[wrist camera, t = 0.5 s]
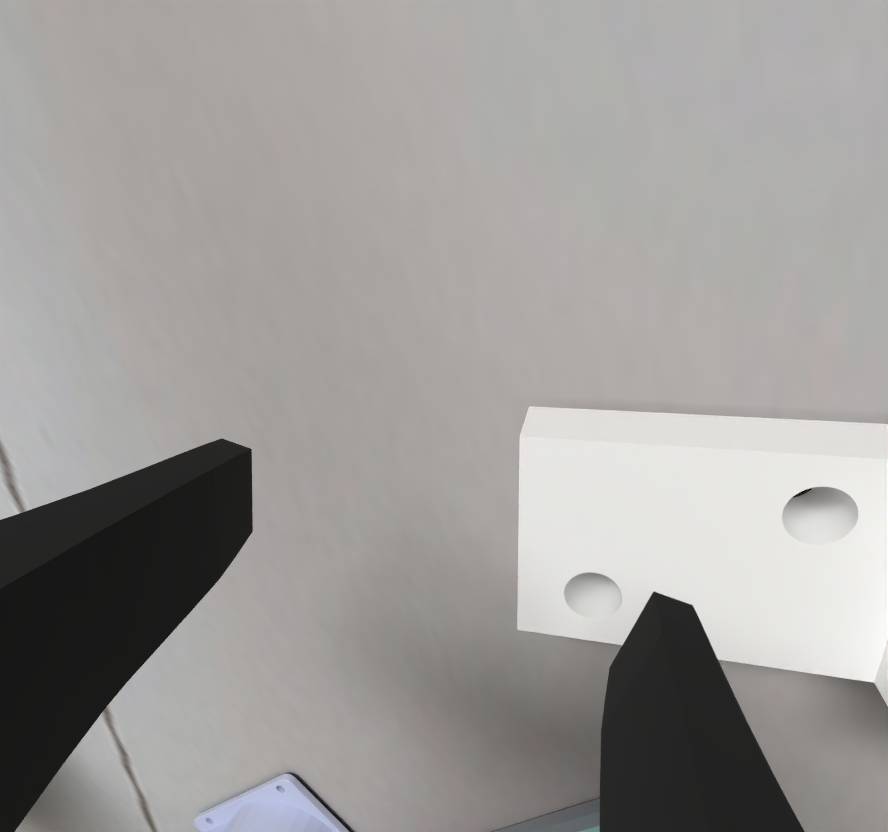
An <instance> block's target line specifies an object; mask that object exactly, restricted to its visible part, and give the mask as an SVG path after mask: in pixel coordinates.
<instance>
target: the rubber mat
mask: <svg viewBox="0 0 888 832" xmlns="http://www.w3.org/2000/svg"><path fill="white" fill-rule="evenodd" d="M597 826H600V798H598V799H595V800H592V801H589V802H585V803H582V804H579V805H576V806H573V807H569V808H566V809H563V810H560V811H557V812H554V813H550V814H547V815H544V816H541V817H538V818H534V819H531V820H528V821H525V822H522V823H519V824H515V825H512V826H509V827H506V828H503V829H500V830H496V831H493V832H579V831H583V830H586V829H590V828H593V827H597Z"/></svg>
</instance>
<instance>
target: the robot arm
mask: <svg viewBox="0 0 888 832" xmlns="http://www.w3.org/2000/svg"><path fill="white" fill-rule="evenodd" d="M252 531H253V526H252V453H251V449H250V448H247V447H244V446H241V445H239V444H236V443H233V442H230V441H227V440H224V439H219V440H216V441H214V442H211V443H208V444H205V445H202V446H200V447H197V448H194V449H192V450H189V451H187V452H184V453H181V454H179V455H176V456H174V457H171V458H169V459H166V460H164V461H161V462H159V463H156V464H154V465H151V466H149V467H146V468H144V469H141V470H138V471H136V472H133V473H131V474H128V475H125V476H123V477H120V478H118V479H115V480H112V481H110V482H107V483H105V484H102V485H99V486H97V487H94V488H92V489H89V490H86V491H83V492H80V493H78V494H75V495H72V496H69V497H66V498H63V499H60V500H57V501H55V502H52V503H49V504H46V505H43V506H40V507H37V508H34V509H32V510H29V511H26V512H23V513H20V514H17V515H14V516H11V517H8V518H5V519H2V520H0V832H15V830H16V829H17V827H18V826H19V824H20V823H21V822H22V820H23V819H24V817H25V816H26V815H27V813H28V812H29V811H30V809H31V808H32V806H33V805H34V804H35V802H36V801H37V799H38V798H39V797H40V795H41V794H42V792H43V791H44V790H45V788H46V787H47V786H48V784H49V783H50V781H51V780H52V779H53V777H54V776H55V774H56V773H57V772H58V770H59V769H60V767H61V766H62V765H63V763H64V762H65V761H66V759H67V758H68V757H69V755H70V754H71V753H72V751H73V750H74V749H75V747H76V746H77V745H78V743H79V742H80V741H81V739H82V738H83V737H84V736H85V734H86V733H87V732H88V730H89V729H90V728H91V726H92V725H93V724H94V722H95V721H96V720H97V718H98V717H99V716H100V714H101V713H102V712H103V710H104V709H105V708H106V706H107V705H108V704H109V703H110V702H111V701H112V699H113V698H114V697H115V696H116V695H117V693H118V692H119V691H120V690H121V689H122V687H123V686H124V685H125V684H126V683H127V681H128V680H129V679H130V678H131V677H132V676H133V675H134V674H135V673H136V672H137V670H138V669H139V668H140V667H141V666H142V665H143V664H144V663H145V662H146V660H147V659H148V658H149V657H150V656H151V655H152V654H153V653H154V652H155V650H156V649H157V648H158V647H159V646H160V645H161V644H162V643H163V642H164V641H165V639H166V638H167V637H168V636H169V635H170V634H171V633H172V632H173V631H174V629H175V628H176V627H177V626H178V625H179V624H180V623H181V622H182V621H183V619H184V618H185V617H186V616H187V615H188V614H189V613H190V612H191V611H192V609H193V608H194V607H195V606H196V605H197V604H198V603H199V602H200V600H201V599H202V598H203V597H204V596H205V595H206V594H207V593H208V591H209V590H210V589H211V588H212V587H213V586H214V585H215V583H216V582H217V581H218V580H219V579H220V578H221V576H222V575H223V573H224V572H225V571H226V569H227V568H228V566H229V565H230V564H231V562H232V561H233V560H234V558H235V557H236V555H237V554H238V552H239V551H240V549H241V548H242V546H243V545H244V543H245V542H246V540H247V539H248V537H249V536H250V534H251V533H252ZM194 825H195V826H196V827H197V828H198V829H199V830H200V831H201V832H349V831H348V830H347V829H346V828H345V827H344V826H343V825H342V824H341V823H340V822H339V821H338V820H337V819H336V818H335V817H334V816H333V815H332V814H331V813H330V812H329V811H328V810H327V809H326V808H325V807H324V806H323V805H322V804H321V803H320V802H319V801H318V800H317V799H316V798H315V797H314V796H313V795H312V794H311V793H310V792H309V791H308V790H307V789H306V788H305V787H304V786H303V785H302V784H301V783H300V782H299V781H298V780H297V779H296V778H295V777H294V776H293V775H291V774H283V775H281V776H278V777H276V778H274V779H272V780H270V781H268V782H266V783H263V784H261V785H259V786H257V787H255V788H253V789H251V790H249V791H246V792H244V793H242V794H240V795H238V796H236V797H234V798H231V799H229V800H227V801H225V802H223V803H221V804H219V805H217V806H214V807H212V808H210V809H208V810H206V811H204V812H202V813H199V814H198V815H197V816H196V818H195V819H194ZM600 832H804V830H803V828H802V826H801V825H800V823H799V821H798V819H797V817H796V815H795V814H794V812H793V810H792V808H791V806H790V805H789V803H788V801H787V799H786V797H785V795H784V793H783V791H782V789H781V788H780V786H779V784H778V782H777V780H776V778H775V776H774V774H773V772H772V770H771V768H770V766H769V764H768V762H767V760H766V758H765V756H764V754H763V752H762V750H761V748H760V746H759V744H758V742H757V740H756V739H755V737H754V735H753V733H752V731H751V729H750V727H749V725H748V723H747V721H746V719H745V716H744V714H743V712H742V710H741V708H740V706H739V704H738V702H737V700H736V698H735V696H734V693H733V691H732V689H731V687H730V685H729V683H728V680H727V678H726V676H725V674H724V672H723V670H722V668H721V665H720V663H719V661H718V659H717V657H716V654H715V652H714V650H713V648H712V646H711V643H710V641H709V639H708V637H707V635H706V632H705V630H704V628H703V626H702V623H701V621H700V619H699V617H698V615H697V613H696V611H695V609H694V607H693V605H691V604H688V603H685V602H682V601H680V600H677V599H674V598H671V597H668V596H665V595H663V594H660V593H657V592H654V591H653V593H652V595H651V597H650V598H649V600H648V602H647V604H646V605H645V607H644V609H643V611H642V612H641V614H640V616H639V617H638V619H637V621H636V623H635V624H634V626H633V628H632V630H631V631H630V633H629V635H628V637H627V638H626V640H625V642H624V644H623V645H622V647H621V649H620V651H619V652H618V654H617V656H616V658H615V659H614V661H613V663H612V664H611V666H610V669H609V676H608V683H607V691H606V698H605V705H604V713H603V722H602V730H601V769H600Z"/></svg>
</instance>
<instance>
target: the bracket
mask: <svg viewBox="0 0 888 832" xmlns="http://www.w3.org/2000/svg"><path fill="white" fill-rule="evenodd" d="M809 488H813V489H811V490H810V491H809V492H807V493H805V494H803V495H801V496H798V497H794V498H792V497H793V496H795V495H796V494H798V493H799V492H801V491H804V490H806V489H809ZM653 591H654V592H657V593H660V594H663V595H665V596H668V597H671V598H674V599H677V600H680V601H682V602H685V603H688V604H691V605H693V607H694V609H695V611H696V613H697V615H698V617H699V619H700V621H701V623H702V626H703V628H704V630H705V632H706V635H707V637H708V639H709V641H710V643H711V646H712V648H713V650H714V652H715V654H716V657H717V659H718V660H725V661H732V662H739V663H745V664H752V665H759V666H766V667H772V668H779V669H786V670H793V671H799V672H806V673H813V674H820V675H826V676H833V677H840V678H846V679H853V680H860V681H867V682H873V683H875V685H876V687H877V689H878V690H879V692H880V694H881V695H882V697H883V699H884V701H885V702H886V704H887V706H888V424H875V423H855V422H834V421H814V420H794V419H773V418H753V417H733V416H713V415H692V414H672V413H652V412H631V411H611V410H591V409H570V408H550V407H530V406H529V409H528V412H527V415H526V418H525V422H524V425H523V428H522V431H521V434H520V462H519V538H518V614H517V630H523V631H530V632H537V633H543V634H550V635H557V636H563V637H570V638H577V639H584V640H590V641H597V642H604V643H611V644H617V645H623V644H624V642H625V640H626V638H627V637H628V635H629V633H630V631H631V630H632V628H633V626H634V624H635V623H636V621H637V619H638V617H639V616H640V614H641V612H642V611H643V609H644V607H645V605H646V604H647V602H648V600H649V598H650V597H651V595H652V593H653Z"/></svg>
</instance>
